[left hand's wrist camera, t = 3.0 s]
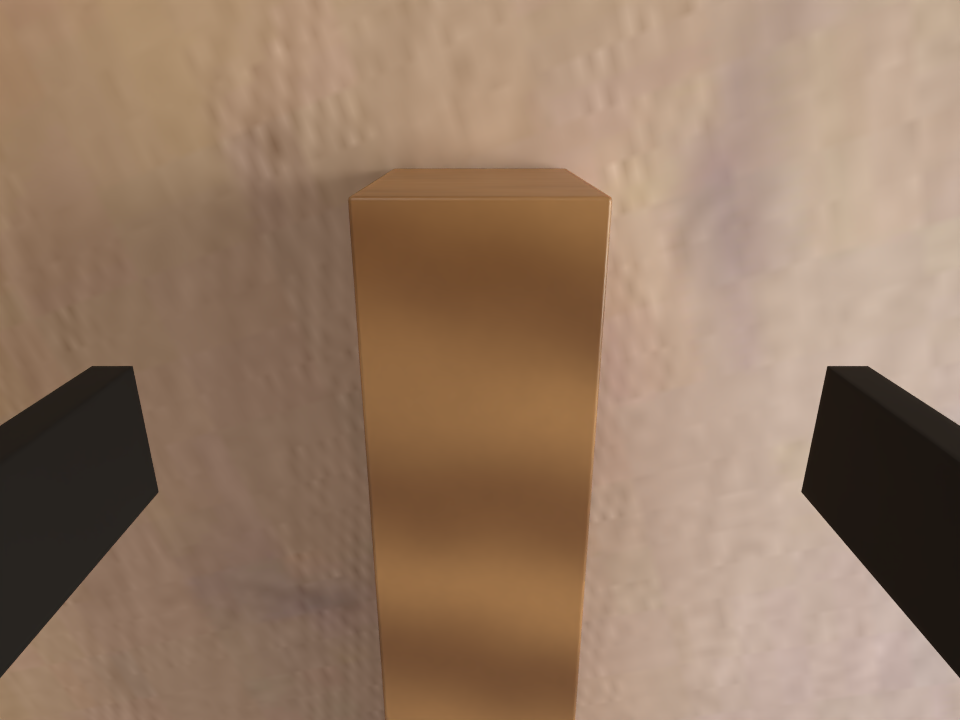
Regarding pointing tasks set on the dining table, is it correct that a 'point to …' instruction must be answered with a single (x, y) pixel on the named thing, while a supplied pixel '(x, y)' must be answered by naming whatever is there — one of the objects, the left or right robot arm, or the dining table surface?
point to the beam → (480, 431)
